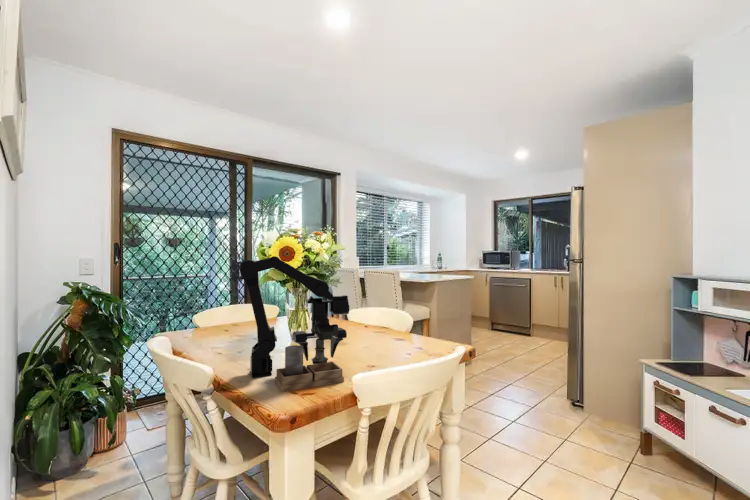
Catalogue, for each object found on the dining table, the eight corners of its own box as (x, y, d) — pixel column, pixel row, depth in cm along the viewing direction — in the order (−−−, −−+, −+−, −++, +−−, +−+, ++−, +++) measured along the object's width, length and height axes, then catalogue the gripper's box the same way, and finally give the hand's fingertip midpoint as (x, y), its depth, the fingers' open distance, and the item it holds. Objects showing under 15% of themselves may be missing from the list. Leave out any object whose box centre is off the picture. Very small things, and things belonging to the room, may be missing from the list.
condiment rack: (281, 391, 113) (281, 353, 113) (274, 381, 122) (275, 345, 122) (344, 381, 121) (344, 346, 122) (333, 372, 130) (333, 339, 131)
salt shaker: (324, 372, 131) (325, 337, 131) (308, 371, 132) (309, 337, 132) (330, 367, 137) (330, 334, 137) (314, 366, 138) (315, 333, 138)
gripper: (300, 321, 123) (299, 368, 123) (352, 316, 131) (352, 361, 131) (291, 315, 133) (291, 359, 133) (341, 312, 141) (341, 353, 141)
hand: (319, 358), depth 135 cm, fingers open, 9 cm apart
